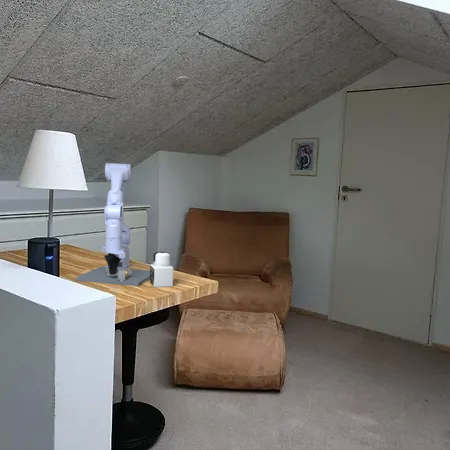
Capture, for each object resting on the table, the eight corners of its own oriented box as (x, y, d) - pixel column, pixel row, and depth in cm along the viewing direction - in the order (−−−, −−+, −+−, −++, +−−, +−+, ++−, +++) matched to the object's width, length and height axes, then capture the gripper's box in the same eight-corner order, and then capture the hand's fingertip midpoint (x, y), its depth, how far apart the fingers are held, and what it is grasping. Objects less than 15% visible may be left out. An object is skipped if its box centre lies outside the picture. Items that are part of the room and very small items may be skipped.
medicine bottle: (149, 282, 166) (150, 250, 165) (168, 281, 169) (169, 250, 167) (153, 287, 160) (154, 254, 158) (173, 286, 162) (174, 253, 161)
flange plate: (104, 271, 175) (105, 262, 175) (128, 270, 178) (129, 261, 178) (108, 280, 161) (108, 270, 160) (134, 279, 164) (134, 270, 164)
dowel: (125, 278, 167) (125, 270, 167) (129, 278, 167) (129, 270, 166) (123, 278, 165) (123, 270, 165) (127, 279, 165) (127, 271, 165)
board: (101, 269, 185) (101, 255, 184) (156, 274, 180) (157, 260, 180) (76, 280, 165) (76, 265, 164) (137, 286, 161) (138, 270, 160)
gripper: (133, 239, 160) (132, 277, 162) (114, 234, 171) (114, 269, 173) (115, 241, 155) (114, 279, 157) (97, 235, 166) (96, 271, 168)
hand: (113, 274), depth 165 cm, fingers closed, pressing on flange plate
